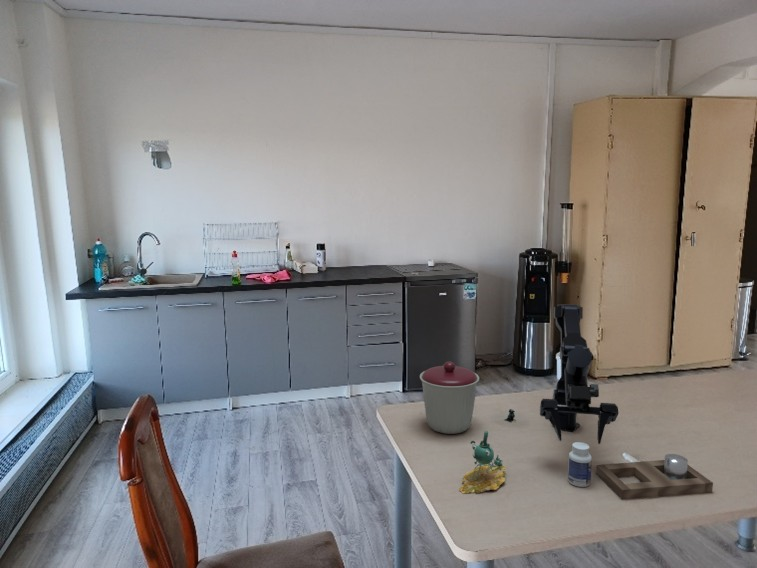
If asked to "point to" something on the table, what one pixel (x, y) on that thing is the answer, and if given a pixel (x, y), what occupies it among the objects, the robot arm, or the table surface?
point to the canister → (449, 397)
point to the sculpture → (510, 416)
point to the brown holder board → (650, 480)
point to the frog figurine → (483, 470)
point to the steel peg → (675, 467)
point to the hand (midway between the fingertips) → (579, 441)
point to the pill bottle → (579, 465)
